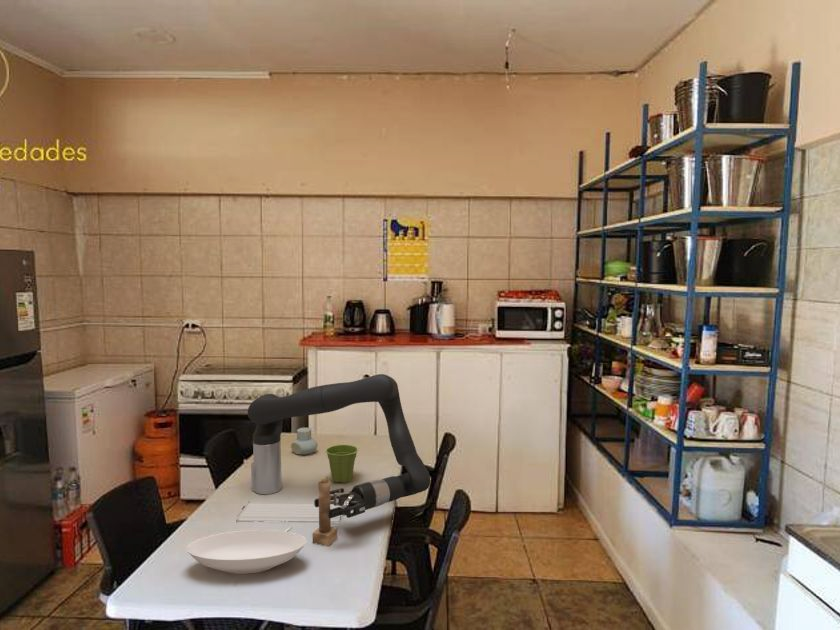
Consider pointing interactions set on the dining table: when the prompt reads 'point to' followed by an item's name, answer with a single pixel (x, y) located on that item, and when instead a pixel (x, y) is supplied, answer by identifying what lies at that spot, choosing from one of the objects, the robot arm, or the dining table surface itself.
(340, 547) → the dining table surface
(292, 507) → the baseboard molding
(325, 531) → the brown peg on stand
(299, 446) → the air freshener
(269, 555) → the bowl
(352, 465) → the plant pot
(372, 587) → the dining table surface
